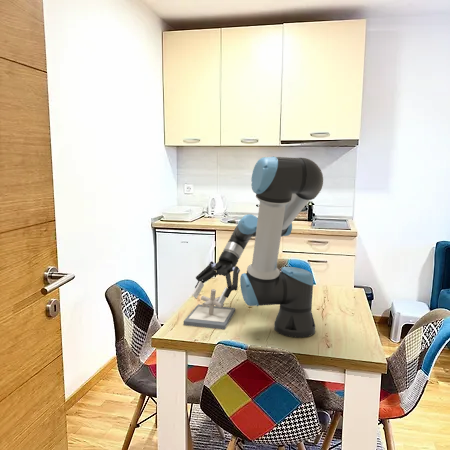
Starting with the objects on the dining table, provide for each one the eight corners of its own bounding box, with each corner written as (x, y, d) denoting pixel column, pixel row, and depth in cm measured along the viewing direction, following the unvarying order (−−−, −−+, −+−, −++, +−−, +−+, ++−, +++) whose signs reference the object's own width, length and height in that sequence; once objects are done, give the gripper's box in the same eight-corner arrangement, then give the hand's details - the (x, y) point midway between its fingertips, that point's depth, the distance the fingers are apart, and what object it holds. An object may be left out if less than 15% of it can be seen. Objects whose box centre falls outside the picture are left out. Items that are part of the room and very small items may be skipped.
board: (198, 307, 181) (198, 303, 181) (235, 311, 178) (235, 307, 177) (183, 324, 162) (183, 320, 161) (224, 329, 158) (224, 325, 158)
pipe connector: (212, 321, 162) (215, 296, 160) (193, 312, 168) (195, 289, 166) (228, 314, 170) (231, 290, 168) (209, 306, 176) (211, 283, 174)
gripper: (259, 265, 172) (236, 311, 162) (211, 256, 186) (187, 298, 176) (252, 254, 167) (228, 301, 157) (203, 246, 181) (179, 288, 171)
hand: (206, 300), depth 166 cm, fingers open, 12 cm apart
